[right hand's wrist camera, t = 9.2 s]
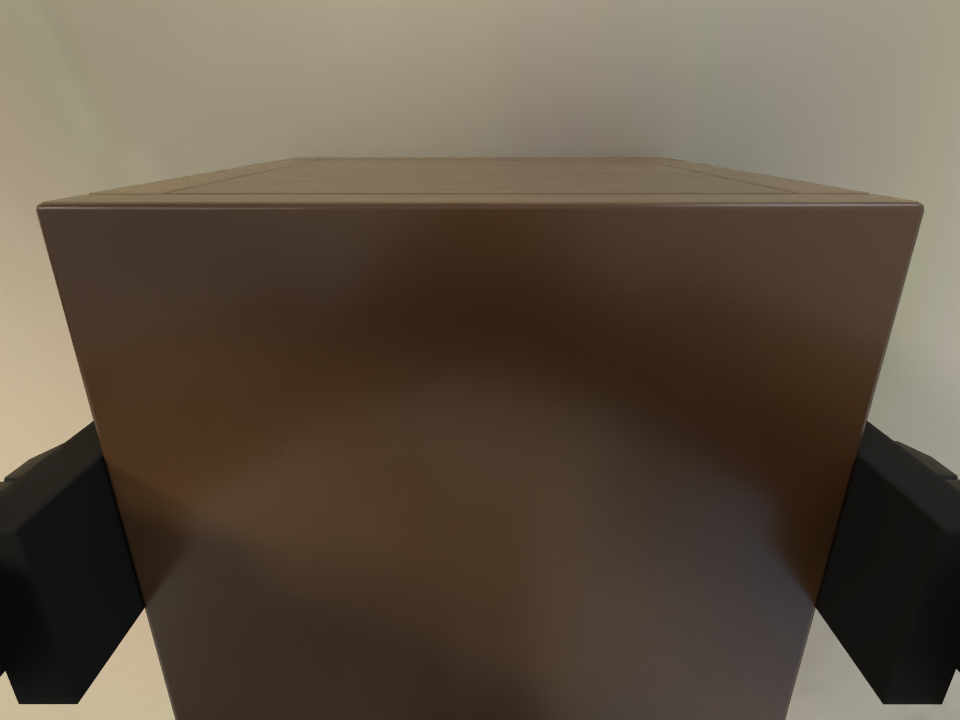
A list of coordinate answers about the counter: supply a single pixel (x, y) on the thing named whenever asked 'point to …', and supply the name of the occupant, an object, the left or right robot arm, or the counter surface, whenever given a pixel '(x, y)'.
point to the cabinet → (480, 427)
